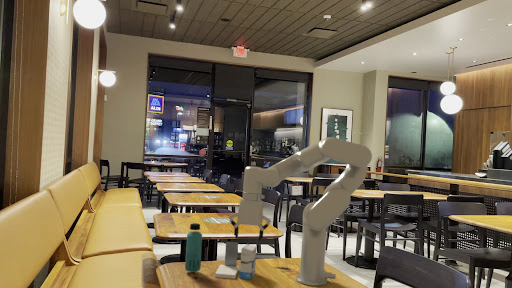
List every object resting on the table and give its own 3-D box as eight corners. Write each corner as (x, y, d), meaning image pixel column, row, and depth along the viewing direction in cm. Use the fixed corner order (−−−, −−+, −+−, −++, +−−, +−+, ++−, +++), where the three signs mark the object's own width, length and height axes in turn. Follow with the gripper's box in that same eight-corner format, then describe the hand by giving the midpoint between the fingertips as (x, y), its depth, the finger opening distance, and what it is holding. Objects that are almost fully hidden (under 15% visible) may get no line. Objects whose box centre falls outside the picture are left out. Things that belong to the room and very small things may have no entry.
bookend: (236, 266, 167) (237, 242, 167) (236, 266, 166) (237, 243, 166) (224, 265, 168) (226, 241, 168) (224, 265, 167) (226, 242, 167)
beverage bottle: (186, 276, 156) (189, 225, 156) (182, 270, 162) (185, 222, 162) (202, 274, 158) (205, 225, 158) (198, 269, 165) (200, 221, 164)
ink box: (251, 280, 156) (252, 250, 156) (239, 278, 157) (240, 249, 157) (255, 273, 164) (257, 245, 164) (244, 271, 165) (245, 243, 165)
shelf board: (238, 269, 167) (238, 266, 167) (234, 278, 156) (235, 275, 156) (220, 268, 168) (220, 264, 168) (215, 277, 157) (215, 273, 157)
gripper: (273, 197, 163) (269, 238, 163) (232, 193, 165) (228, 234, 165) (272, 200, 156) (268, 243, 156) (229, 196, 157) (225, 238, 158)
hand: (248, 238), depth 160 cm, fingers open, 9 cm apart
